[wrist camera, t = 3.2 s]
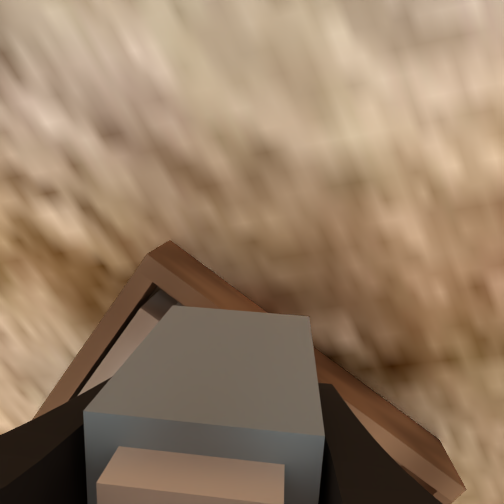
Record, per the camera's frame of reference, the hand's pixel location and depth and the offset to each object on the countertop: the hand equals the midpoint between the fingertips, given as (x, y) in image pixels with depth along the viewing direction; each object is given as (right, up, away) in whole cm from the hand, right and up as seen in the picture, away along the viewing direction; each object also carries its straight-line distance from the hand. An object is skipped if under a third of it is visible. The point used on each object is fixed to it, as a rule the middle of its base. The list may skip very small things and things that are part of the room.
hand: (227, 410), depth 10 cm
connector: (0, 0, +2) cm, 2 cm away
